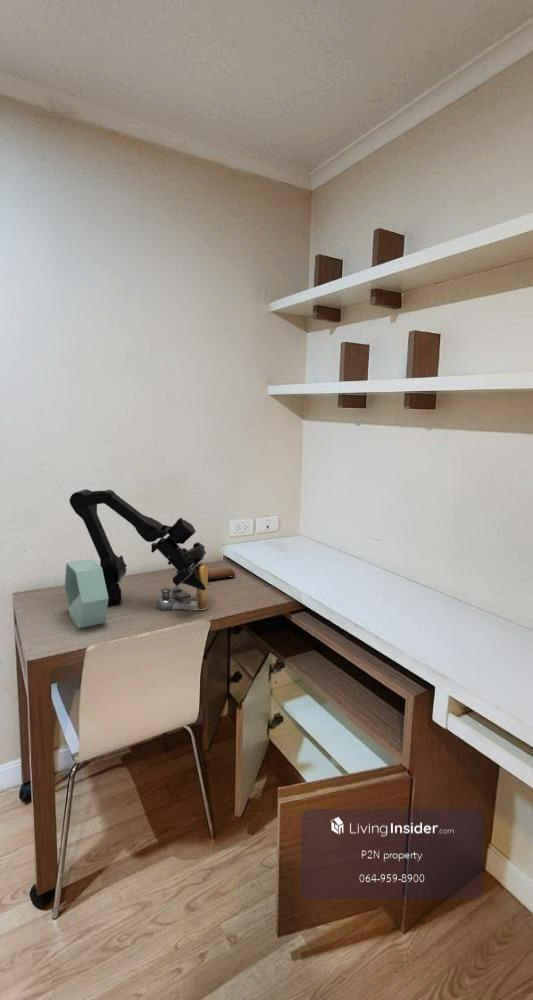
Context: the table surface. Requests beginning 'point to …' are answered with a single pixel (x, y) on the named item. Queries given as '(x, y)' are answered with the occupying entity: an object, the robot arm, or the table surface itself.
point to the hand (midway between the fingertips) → (206, 587)
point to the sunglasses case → (220, 573)
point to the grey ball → (166, 593)
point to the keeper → (180, 594)
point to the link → (180, 604)
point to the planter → (86, 593)
